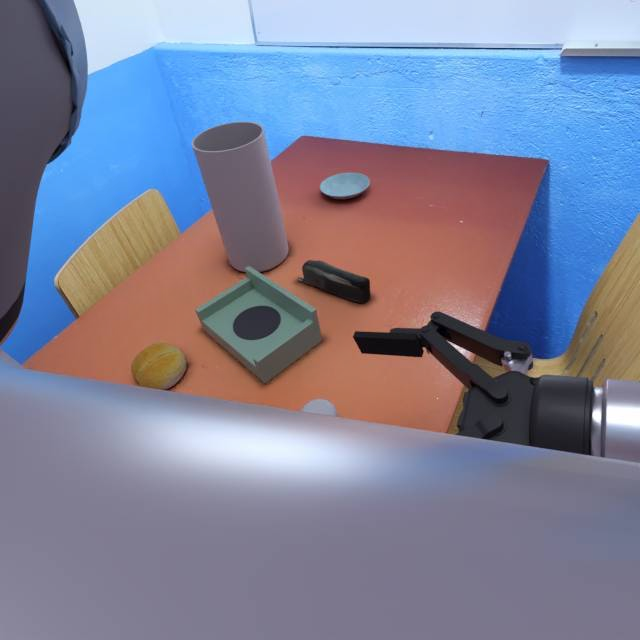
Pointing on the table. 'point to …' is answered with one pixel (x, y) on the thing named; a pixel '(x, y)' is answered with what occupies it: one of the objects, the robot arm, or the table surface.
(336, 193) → the saucer
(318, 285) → the black stapler
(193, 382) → the table surface
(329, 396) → the table surface
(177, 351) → the bread roll
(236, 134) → the cylinder vase
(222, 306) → the green tray with hole
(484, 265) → the table surface
